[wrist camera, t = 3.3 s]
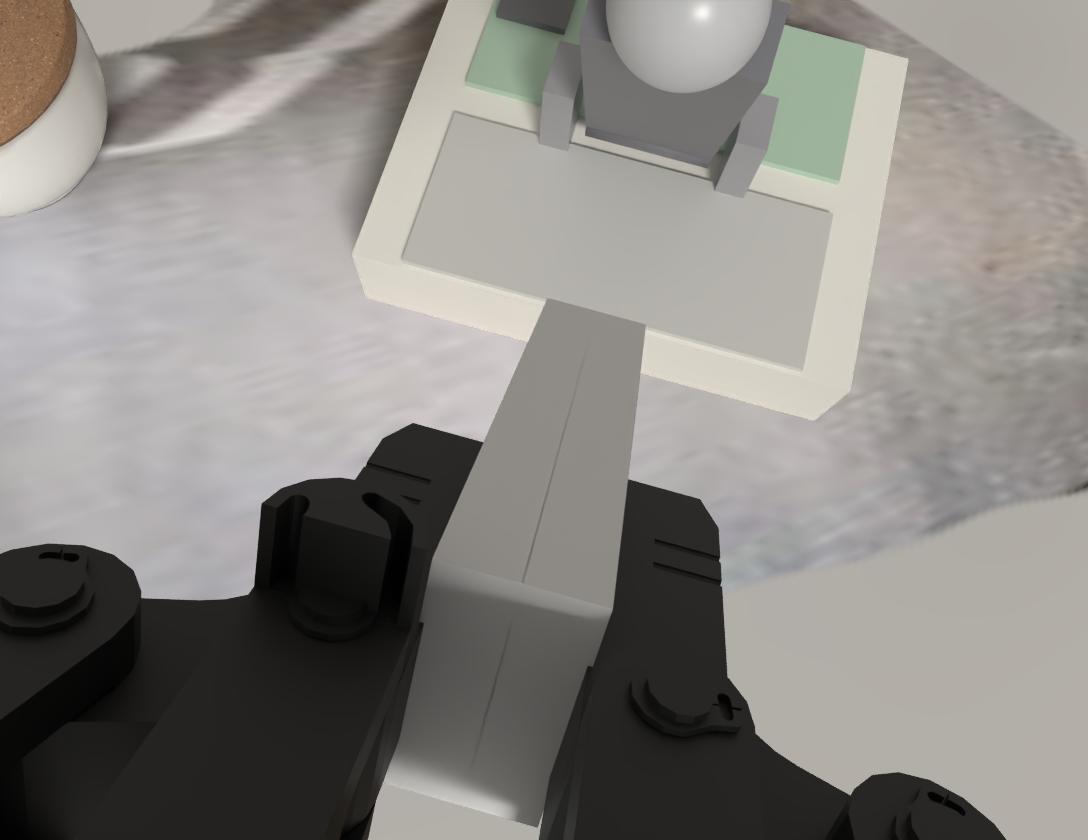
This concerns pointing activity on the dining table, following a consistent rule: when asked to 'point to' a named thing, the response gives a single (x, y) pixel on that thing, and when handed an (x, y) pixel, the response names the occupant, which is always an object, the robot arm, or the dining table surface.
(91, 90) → the lidded jar
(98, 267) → the dining table surface
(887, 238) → the dining table surface
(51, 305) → the dining table surface
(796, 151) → the switch box
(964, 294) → the dining table surface
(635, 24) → the toggle lever
